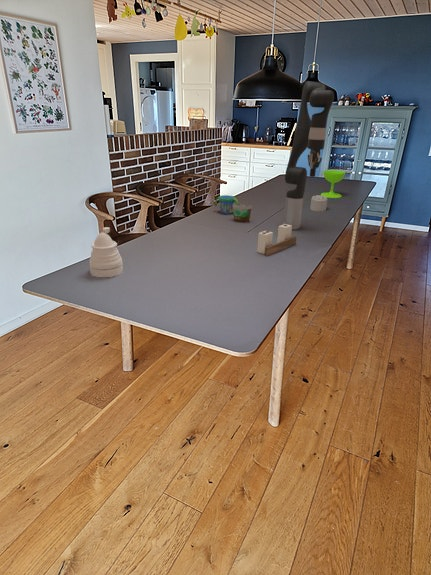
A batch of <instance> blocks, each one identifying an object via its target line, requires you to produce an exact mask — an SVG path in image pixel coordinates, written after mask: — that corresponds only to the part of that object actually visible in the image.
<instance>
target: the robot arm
mask: <svg viewBox="0 0 431 575" xmlns="http://www.w3.org/2000/svg"><path fill="white" fill-rule="evenodd" d="M334 100H335V94H334V91H333V90H330V89H327V88H326V85H325V84H324V83H322V82H318V81H317V82H316V81H310V80H307V81H306V82H305V83H304V85H303V87H302V93H301V100H300V107H299V111H298V112H299V113H298V118H297V122H296V126H295V131H294V135H293V141H292V147H291V150H290V155H289V159H288V162H287V166H286V170H285V172H284V173H285V174H284V181H285V183H286V184H289V185H294V186H295V185H296V188H294V189H291V190H288V191H286V196H285V206H284V207H285V208H284V218H283V224H288V225H292V230H299V229H300V228H301V221H302V220H301V219H302V210H303V203H304V202H303V201H304V194H305V192H306V185H307V183H306V182H307V177H308V171H307V168H306V167H302V166H297V163H298V161H299V159H300V157H301V155H302V154H303V153H304V152H305V151H306V150H307V149H308V150H310V151H309V154H307V161H308V162H307V164H308V167H309V168H310V170H309V177H313V178H315V177H316V171H317V168H319V167H320V164H321V163H322V160H323V157H321V150H324V148H325V142H326V135H327V124H328V123H327V121H328V117H329V113H330V110H331V107H332V106H333V102H334ZM308 102H309V106H310V107H312V108H323V110H322V111H320V112H317V113H313V114H312V115H311V117H310V114H309V110H308Z"/></svg>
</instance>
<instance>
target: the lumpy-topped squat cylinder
mask: <svg viewBox="0 0 431 575" xmlns="http://www.w3.org/2000/svg"><path fill="white" fill-rule="evenodd" d="M327 205H328V197H324V196H321V194H320V195H319V194H318V195H317V194H316V195H313V196H312V197H311V201H310V208H309V209H310V210H311V211H314V212H326V210H327Z"/></svg>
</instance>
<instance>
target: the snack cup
mask: <svg viewBox="0 0 431 575" xmlns="http://www.w3.org/2000/svg"><path fill="white" fill-rule="evenodd" d="M217 201H218V202H219V210H220V213H221V214H225V215H226V214H227V215H228V214H229V215H230V214H232V213H233V212H234V208H233V207H232V206H233V203H234V204H239V201H238V199H237V198H236V196H234V195H229V194H228V195H225V194H224V195H219V196H218V197H216V198H215V201H214V206H215V207H217V206H218V203H217Z"/></svg>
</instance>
